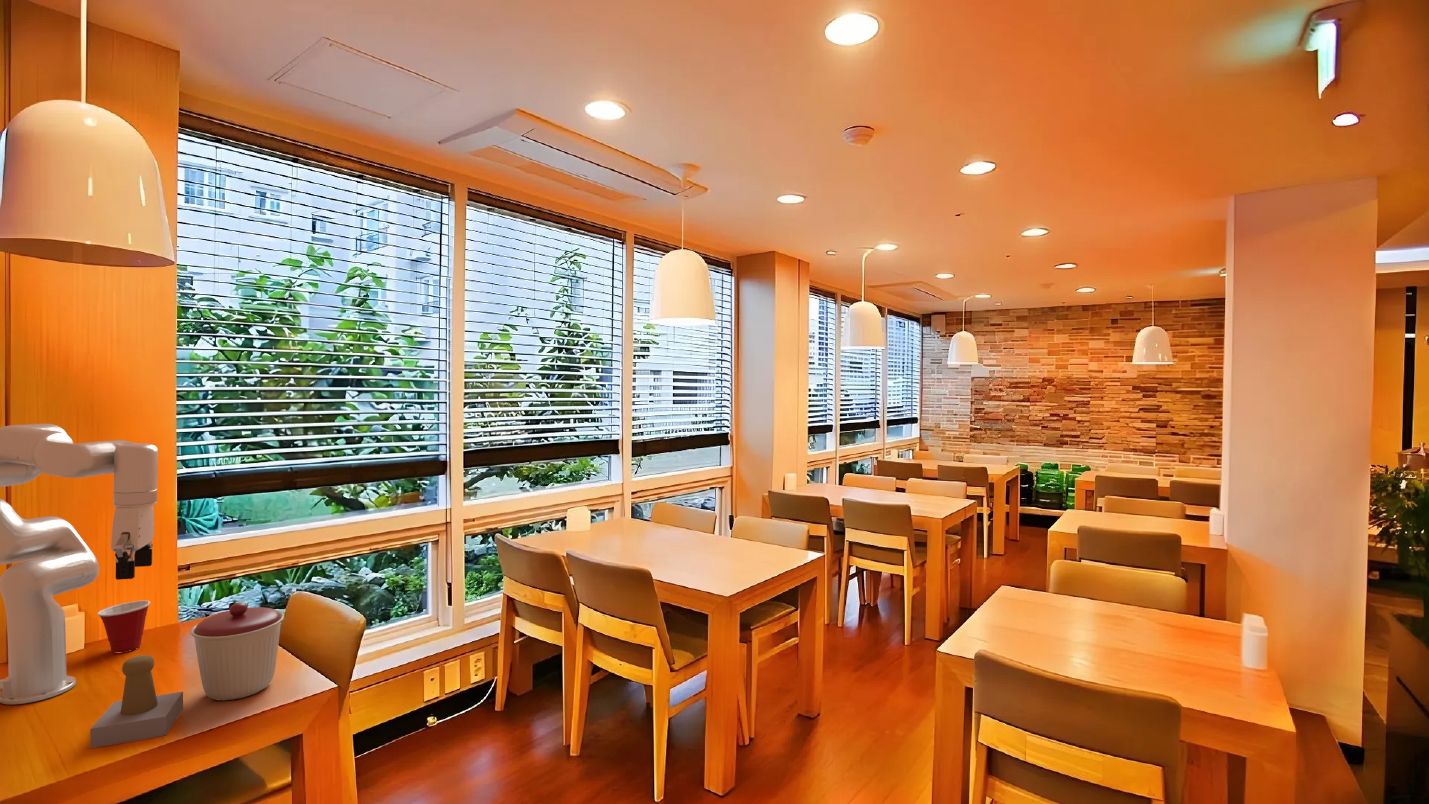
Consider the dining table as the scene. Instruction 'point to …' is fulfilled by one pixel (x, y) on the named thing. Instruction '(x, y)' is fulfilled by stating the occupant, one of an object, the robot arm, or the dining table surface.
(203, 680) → the canister
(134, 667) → the cork
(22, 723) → the dining table surface
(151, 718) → the block
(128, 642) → the plastic cup
